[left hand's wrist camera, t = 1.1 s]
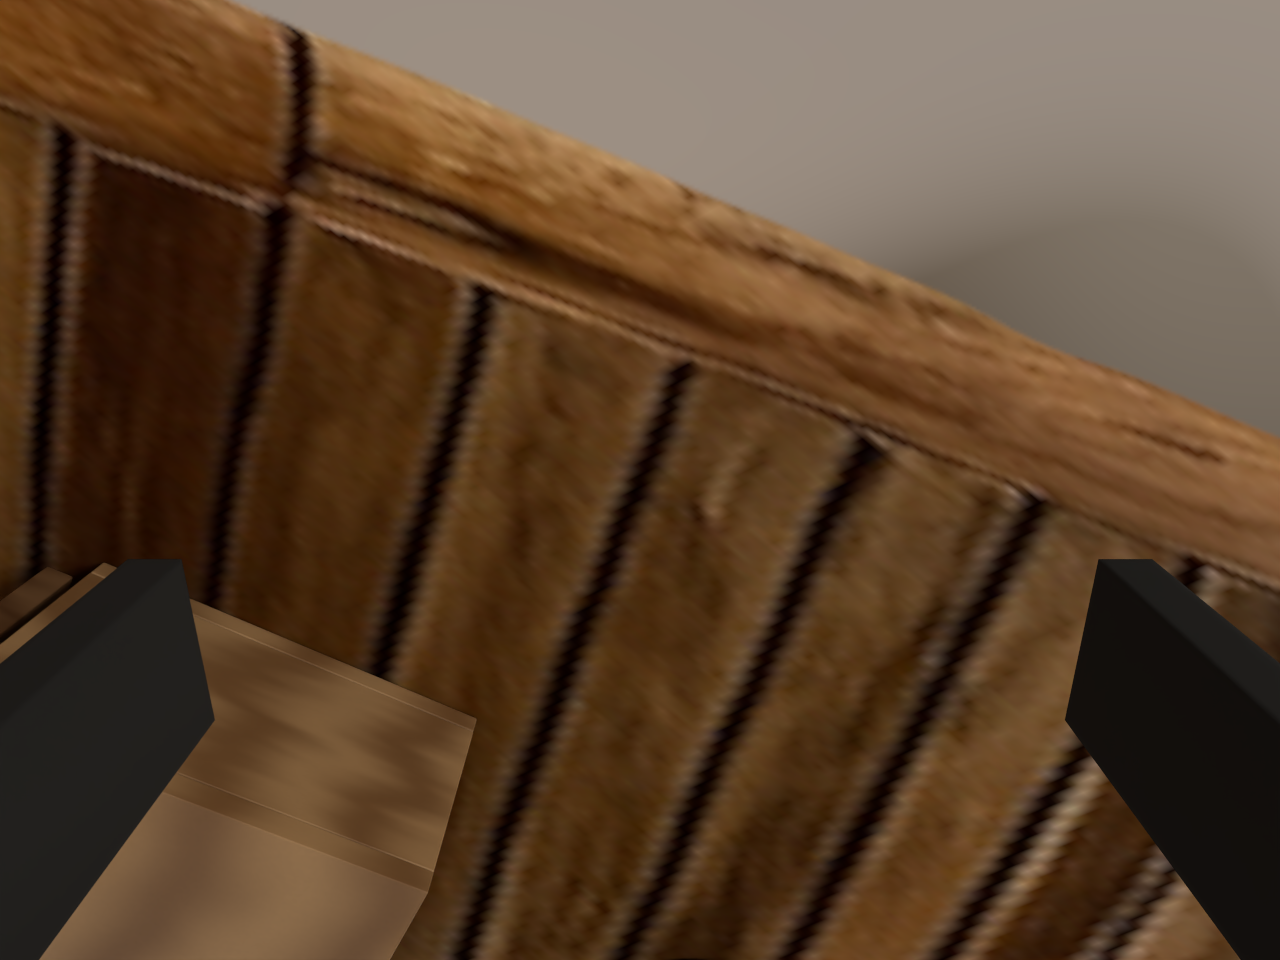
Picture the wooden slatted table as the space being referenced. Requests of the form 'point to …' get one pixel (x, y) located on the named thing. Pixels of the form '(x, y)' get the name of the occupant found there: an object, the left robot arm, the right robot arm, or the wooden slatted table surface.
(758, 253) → the wooden slatted table surface
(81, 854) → the left robot arm
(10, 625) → the drawer
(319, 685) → the cabinet
